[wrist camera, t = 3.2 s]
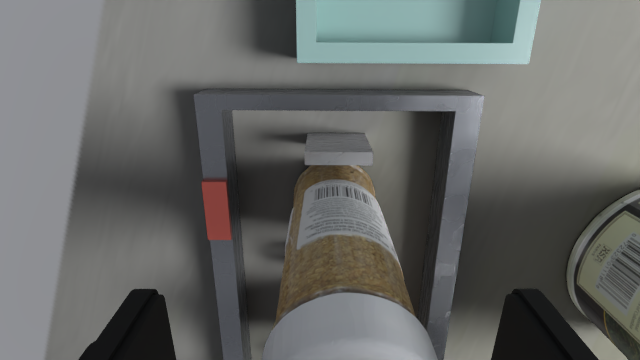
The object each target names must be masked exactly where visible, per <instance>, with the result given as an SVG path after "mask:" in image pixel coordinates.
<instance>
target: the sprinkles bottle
mask: <svg viewBox="0 0 640 360" xmlns="http://www.w3.org/2000/svg"><path fill="white" fill-rule="evenodd" d="M293 202H294V207H293V209H292V212H291V215H290V221H289V226H288V232H287V238H286V244H285V260H284V268H283V274H282V279H281V286H280V294H279V302H278V308H277V314H276V321H275V323H274V325H273V327H272V331H271V333H270V335H269V337H268V339H267V341H266V343H265V346H264V351H263V355H262V360H438V359H437V356H436V353H435V350H434V348H433V345H432V342H431V340H430V338H429V335H428V333H427V331H426V330H425V328H424V327H423V326H422V324H421V323H420V322H419V321H418V319H417V318H416V317H415V314H414V310H413V307H412V304H411V301H410V298H409V294H408V292H407V289H406V285H405V283H404V276H403V272H402V268H401V265H400V263H399V260H398V257H397V254H396V251H395V248H394V245H393V242H392V239H391V237H390V234H389V231H388V228H387V225H386V222H385V219H384V216H383V214H382V211H381V208H380V206H379V204H378V202H377V200H376V198H375V189H374V186H373V184H372V180H371V179H370V177H369V175H368V174H367V173H366V172H365V171H364V170H363V169H362V168H361V167H360V166H358V165H311V166H310V167H309V168H308V169H306V170H305V171H304V172H303V173H302V174H301V175H300V176H299V178H298V180H297V183H296V185H295V188H294V199H293Z"/></svg>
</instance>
